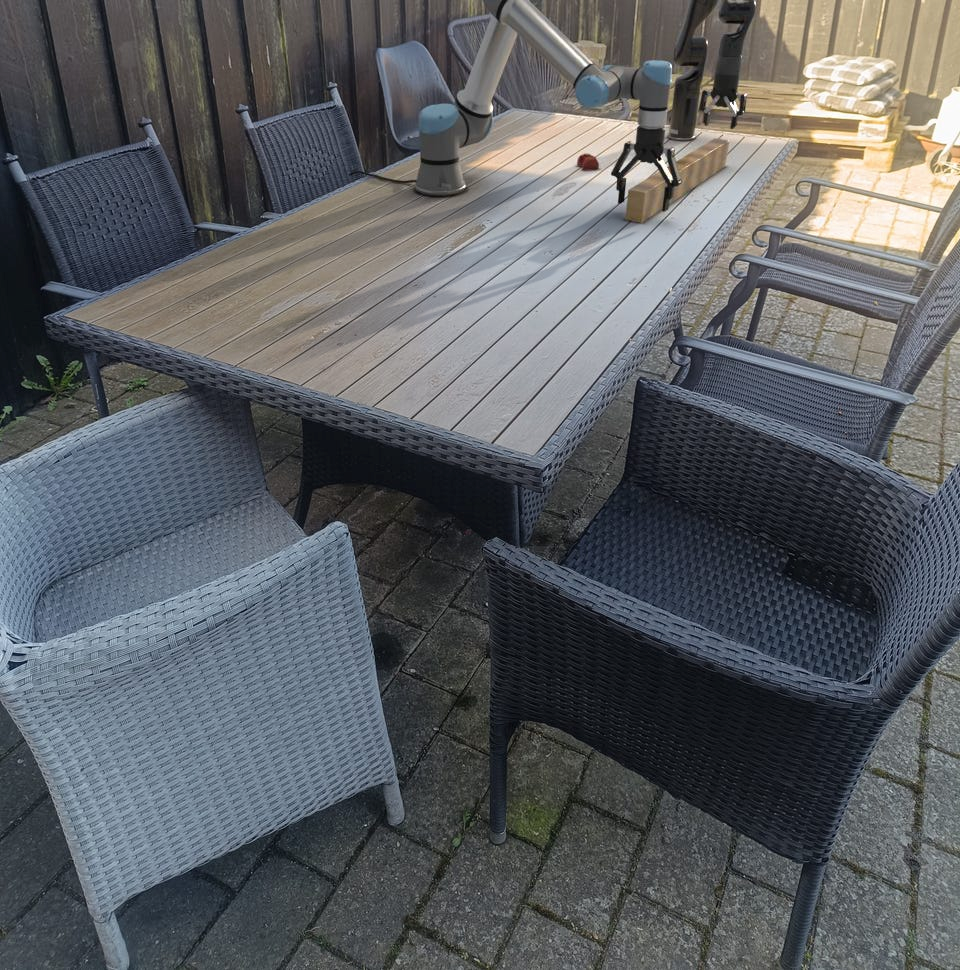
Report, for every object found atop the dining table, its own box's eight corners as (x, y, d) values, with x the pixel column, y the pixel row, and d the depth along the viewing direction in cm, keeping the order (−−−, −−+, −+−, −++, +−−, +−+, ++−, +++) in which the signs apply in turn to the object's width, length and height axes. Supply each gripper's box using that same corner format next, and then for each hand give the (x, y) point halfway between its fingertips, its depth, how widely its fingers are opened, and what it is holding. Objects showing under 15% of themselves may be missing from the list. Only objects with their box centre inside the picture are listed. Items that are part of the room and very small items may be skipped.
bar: (641, 223, 233) (645, 192, 228) (625, 219, 235) (628, 189, 231) (725, 166, 280) (729, 140, 275) (710, 164, 282) (714, 138, 277)
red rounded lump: (591, 150, 280) (600, 156, 273) (591, 163, 282) (599, 169, 276) (576, 151, 279) (584, 158, 272) (575, 164, 281) (583, 171, 275)
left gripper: (701, 128, 221) (689, 210, 233) (615, 117, 232) (608, 195, 244) (690, 134, 216) (679, 217, 228) (603, 123, 227) (597, 202, 239)
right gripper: (754, 71, 259) (744, 127, 269) (710, 67, 266) (702, 122, 275) (746, 75, 254) (736, 132, 264) (701, 71, 260) (693, 126, 270)
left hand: (642, 206), depth 236 cm, fingers open, 13 cm apart
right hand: (719, 127), depth 269 cm, fingers open, 8 cm apart
